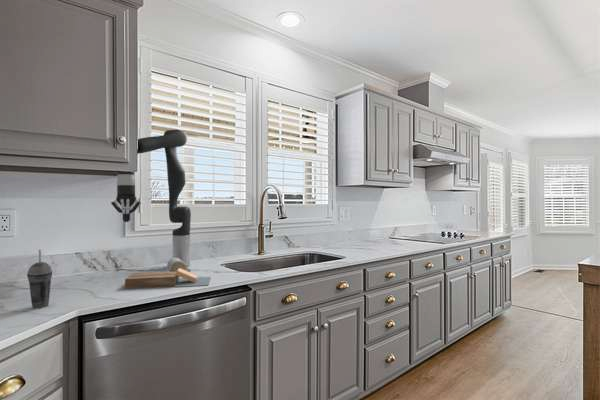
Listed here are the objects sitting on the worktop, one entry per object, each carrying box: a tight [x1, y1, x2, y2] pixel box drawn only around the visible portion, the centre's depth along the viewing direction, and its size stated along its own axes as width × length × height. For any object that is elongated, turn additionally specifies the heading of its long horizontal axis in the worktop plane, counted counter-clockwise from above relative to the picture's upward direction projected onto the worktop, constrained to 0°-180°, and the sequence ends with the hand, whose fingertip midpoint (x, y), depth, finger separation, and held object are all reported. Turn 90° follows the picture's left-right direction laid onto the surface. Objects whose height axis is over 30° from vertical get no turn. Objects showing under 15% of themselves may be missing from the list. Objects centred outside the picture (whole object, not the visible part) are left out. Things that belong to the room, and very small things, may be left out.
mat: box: [173, 276, 211, 288], centre depth 157 cm, size 16×14×1 cm
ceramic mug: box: [166, 257, 192, 273], centre depth 175 cm, size 11×8×8 cm
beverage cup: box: [26, 249, 53, 309], centre depth 123 cm, size 7×7×20 cm
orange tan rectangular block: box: [175, 268, 199, 283], centre depth 157 cm, size 6×9×2 cm, turn 101°
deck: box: [124, 271, 180, 290], centre depth 154 cm, size 12×20×4 cm, turn 101°
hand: (126, 221), depth 162 cm, fingers closed
